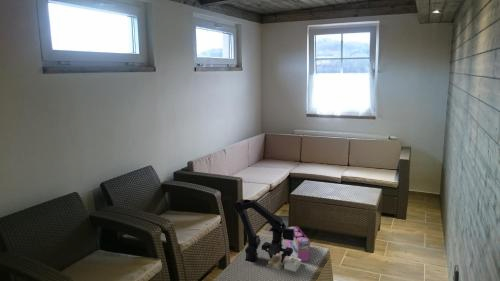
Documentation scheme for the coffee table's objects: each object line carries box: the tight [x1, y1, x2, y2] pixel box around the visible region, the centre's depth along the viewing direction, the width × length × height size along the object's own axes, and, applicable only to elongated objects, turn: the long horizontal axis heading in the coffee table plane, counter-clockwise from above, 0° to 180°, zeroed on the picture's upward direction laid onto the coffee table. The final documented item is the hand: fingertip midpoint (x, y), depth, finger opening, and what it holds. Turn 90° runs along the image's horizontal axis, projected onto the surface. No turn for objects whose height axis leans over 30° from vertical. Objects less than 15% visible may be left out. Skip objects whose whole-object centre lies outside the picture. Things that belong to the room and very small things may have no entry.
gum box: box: [285, 225, 311, 262], centre depth 241 cm, size 24×8×14 cm, turn 13°
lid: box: [267, 253, 286, 269], centre depth 228 cm, size 6×11×3 cm, turn 152°
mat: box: [265, 258, 288, 271], centre depth 228 cm, size 9×13×1 cm
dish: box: [283, 256, 302, 272], centre depth 224 cm, size 7×10×4 cm
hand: (276, 261), depth 228 cm, fingers closed on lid, 6 cm apart
